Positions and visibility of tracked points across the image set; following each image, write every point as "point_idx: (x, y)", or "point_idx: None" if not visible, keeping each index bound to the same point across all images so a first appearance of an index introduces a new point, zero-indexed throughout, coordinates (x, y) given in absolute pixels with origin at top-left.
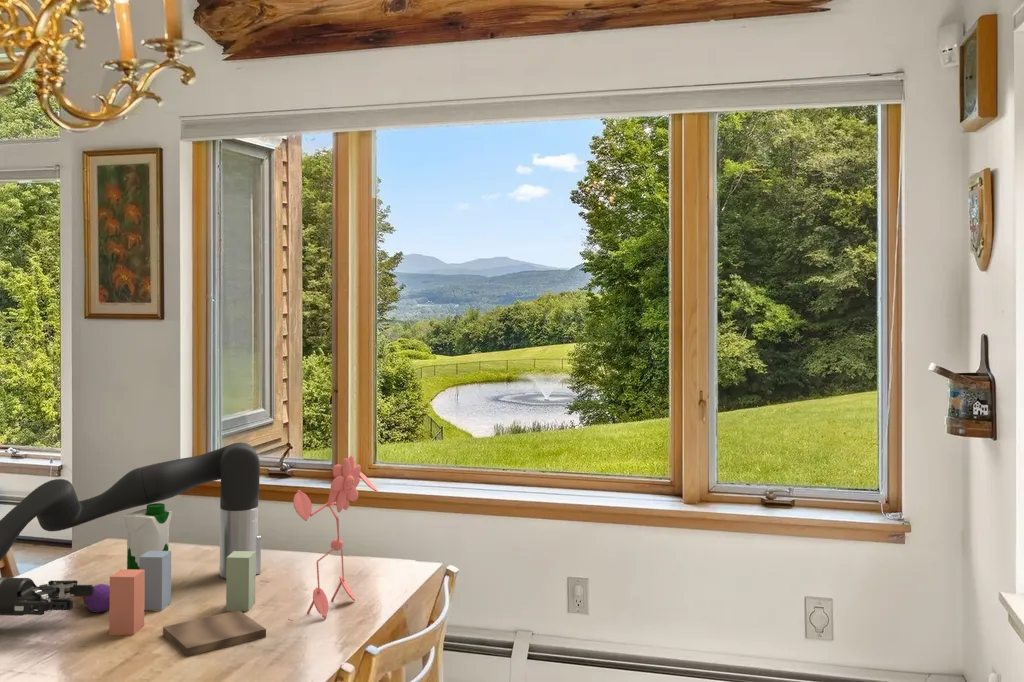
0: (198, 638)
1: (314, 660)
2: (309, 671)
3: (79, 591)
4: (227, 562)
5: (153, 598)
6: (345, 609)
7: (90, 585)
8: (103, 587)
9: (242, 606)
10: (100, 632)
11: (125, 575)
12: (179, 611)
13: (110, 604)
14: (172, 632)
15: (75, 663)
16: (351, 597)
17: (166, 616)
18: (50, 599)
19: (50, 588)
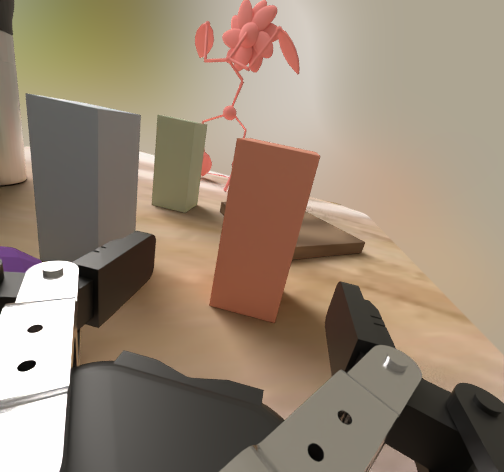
0: (328, 232)
1: (342, 210)
2: (365, 215)
3: (116, 287)
4: (194, 132)
5: (123, 230)
6: (221, 182)
7: (143, 233)
8: (12, 252)
9: (194, 200)
10: (255, 340)
11: (303, 150)
12: (156, 237)
13: (295, 244)
14: (309, 244)
15: (472, 373)
16: (207, 172)
17: (178, 250)
18: (397, 354)
19: (73, 398)
